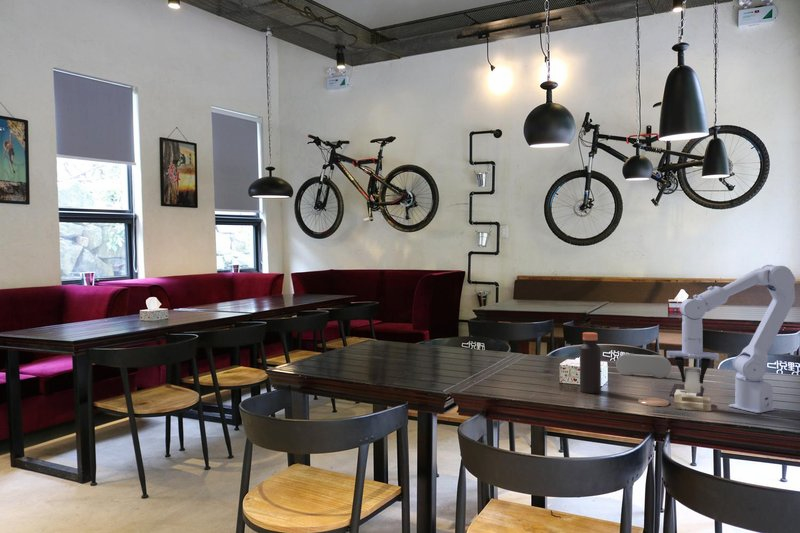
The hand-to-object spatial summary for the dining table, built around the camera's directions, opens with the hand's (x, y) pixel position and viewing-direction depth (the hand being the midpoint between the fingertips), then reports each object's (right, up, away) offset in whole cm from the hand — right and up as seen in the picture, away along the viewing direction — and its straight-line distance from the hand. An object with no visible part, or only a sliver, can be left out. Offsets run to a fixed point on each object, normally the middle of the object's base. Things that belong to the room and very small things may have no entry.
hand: (692, 382), depth 190 cm
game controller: (+2, -6, +44) cm, 45 cm away
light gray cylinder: (0, -3, 0) cm, 3 cm away
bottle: (-25, -7, +21) cm, 33 cm away
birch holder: (0, -7, 0) cm, 7 cm away
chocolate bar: (+7, -7, +19) cm, 21 cm away
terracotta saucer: (-10, -7, +5) cm, 13 cm away
